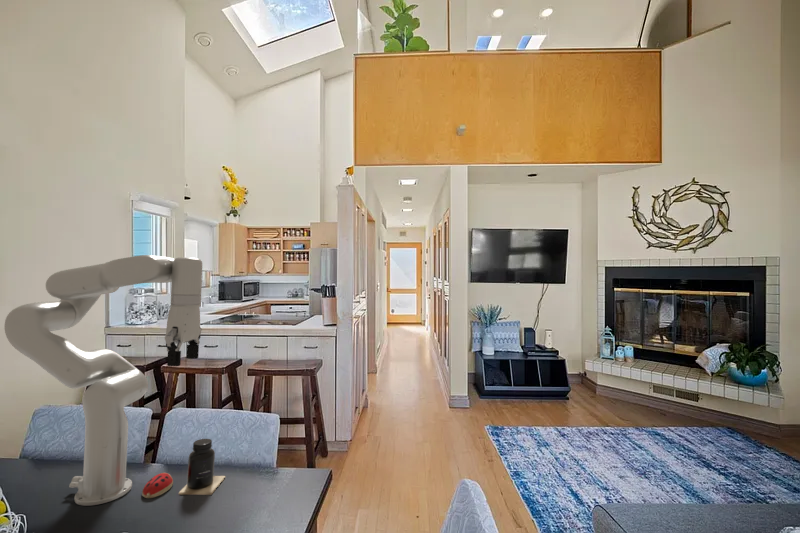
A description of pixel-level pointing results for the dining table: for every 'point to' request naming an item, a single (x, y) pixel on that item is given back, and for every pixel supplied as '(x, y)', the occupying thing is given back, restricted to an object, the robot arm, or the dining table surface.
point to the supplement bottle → (201, 465)
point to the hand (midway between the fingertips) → (183, 361)
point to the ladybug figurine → (157, 485)
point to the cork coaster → (203, 491)
